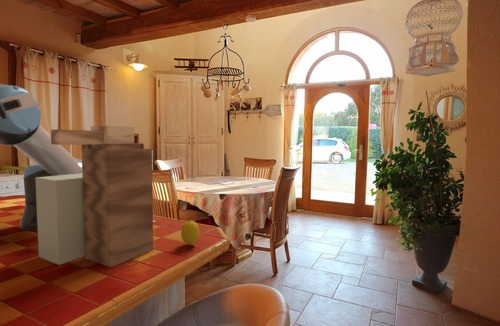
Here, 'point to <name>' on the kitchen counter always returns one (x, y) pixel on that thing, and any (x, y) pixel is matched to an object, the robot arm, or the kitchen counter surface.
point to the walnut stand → (117, 202)
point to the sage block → (60, 217)
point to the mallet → (94, 136)
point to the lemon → (190, 232)
